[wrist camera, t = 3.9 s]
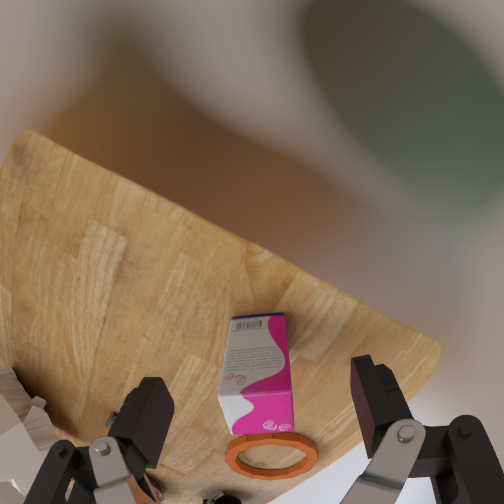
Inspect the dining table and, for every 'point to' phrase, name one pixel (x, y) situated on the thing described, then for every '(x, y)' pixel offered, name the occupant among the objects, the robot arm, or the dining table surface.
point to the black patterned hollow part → (222, 499)
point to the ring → (268, 439)
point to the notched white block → (22, 433)
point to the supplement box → (257, 376)
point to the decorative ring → (110, 420)
